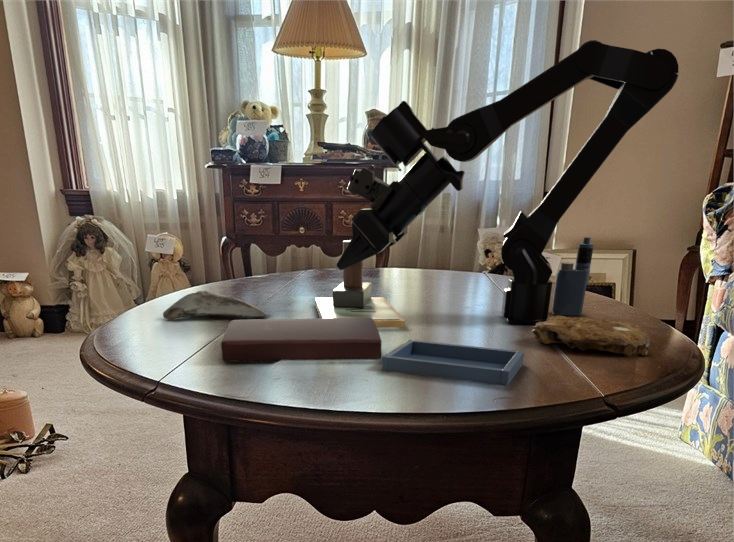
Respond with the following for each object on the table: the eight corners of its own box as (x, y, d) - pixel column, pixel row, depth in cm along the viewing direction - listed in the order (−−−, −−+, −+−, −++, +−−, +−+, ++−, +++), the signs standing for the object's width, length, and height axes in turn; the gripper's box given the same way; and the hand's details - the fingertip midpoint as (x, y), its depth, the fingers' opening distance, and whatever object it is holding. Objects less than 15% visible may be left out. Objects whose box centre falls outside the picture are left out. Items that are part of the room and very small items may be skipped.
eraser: (342, 296, 114) (342, 238, 110) (371, 297, 113) (372, 238, 109) (332, 306, 105) (332, 243, 101) (363, 307, 104) (364, 244, 100)
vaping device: (584, 316, 108) (597, 238, 103) (553, 315, 108) (564, 238, 103) (580, 313, 111) (592, 237, 105) (549, 312, 111) (560, 236, 105)
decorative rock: (531, 358, 85) (651, 369, 82) (536, 327, 83) (660, 337, 80) (527, 334, 94) (635, 343, 92) (532, 305, 92) (643, 314, 90)
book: (381, 363, 80) (382, 336, 79) (222, 364, 79) (220, 337, 77) (371, 340, 91) (372, 316, 90) (232, 340, 90) (230, 316, 89)
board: (315, 306, 113) (315, 297, 113) (383, 305, 115) (383, 296, 114) (324, 331, 96) (324, 320, 95) (405, 330, 97) (405, 319, 97)
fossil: (256, 302, 98) (161, 288, 99) (253, 333, 100) (160, 318, 101) (275, 299, 109) (189, 286, 110) (273, 327, 110) (188, 314, 111)
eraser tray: (381, 373, 76) (382, 356, 75) (408, 355, 84) (408, 339, 83) (506, 389, 71) (508, 371, 70) (522, 367, 79) (524, 351, 78)
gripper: (390, 150, 106) (326, 221, 113) (367, 145, 90) (293, 229, 97) (436, 204, 108) (369, 271, 115) (421, 209, 92) (344, 287, 99)
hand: (345, 264), depth 107 cm, fingers open, 9 cm apart
